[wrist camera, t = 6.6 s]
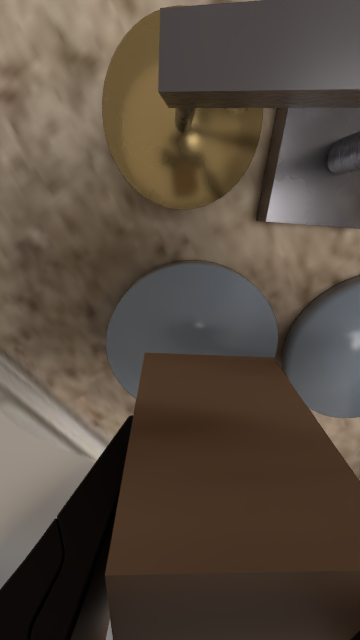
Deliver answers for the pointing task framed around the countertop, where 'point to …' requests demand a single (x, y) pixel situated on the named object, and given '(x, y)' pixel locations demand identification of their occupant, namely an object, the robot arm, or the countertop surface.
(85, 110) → the countertop surface
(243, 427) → the walnut block
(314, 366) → the plate
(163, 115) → the balance
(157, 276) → the plate
